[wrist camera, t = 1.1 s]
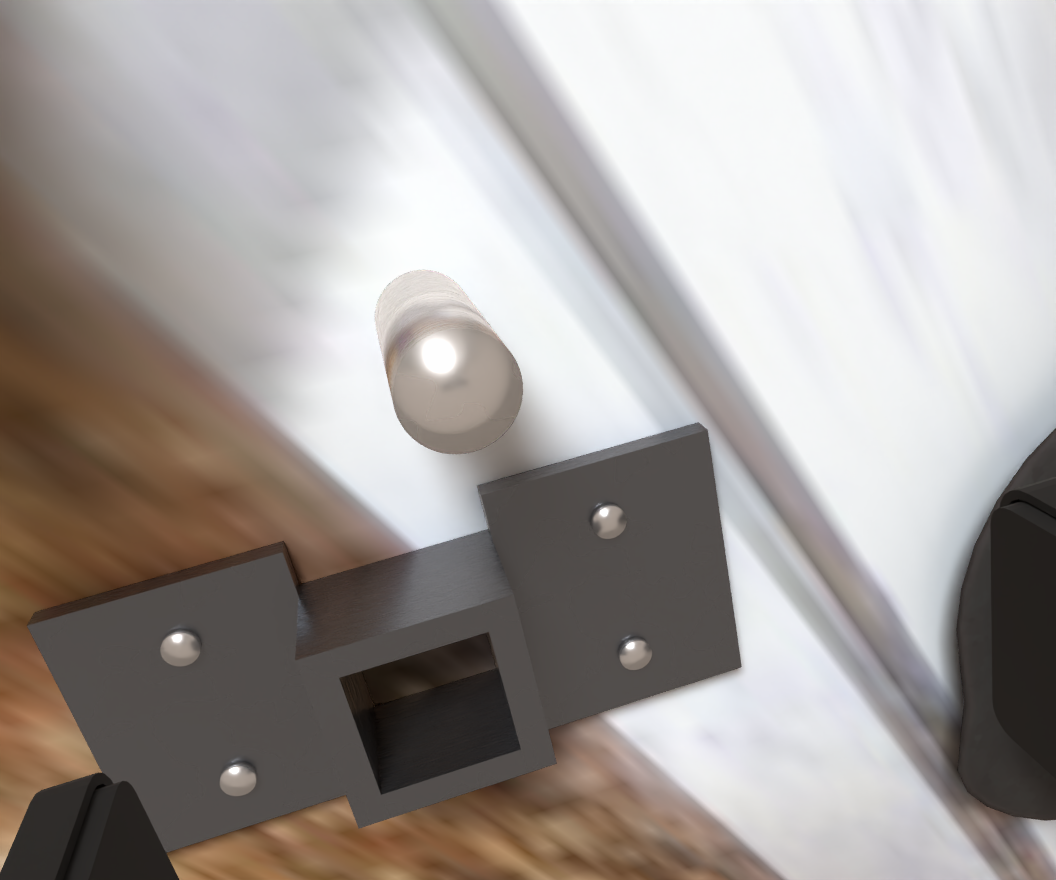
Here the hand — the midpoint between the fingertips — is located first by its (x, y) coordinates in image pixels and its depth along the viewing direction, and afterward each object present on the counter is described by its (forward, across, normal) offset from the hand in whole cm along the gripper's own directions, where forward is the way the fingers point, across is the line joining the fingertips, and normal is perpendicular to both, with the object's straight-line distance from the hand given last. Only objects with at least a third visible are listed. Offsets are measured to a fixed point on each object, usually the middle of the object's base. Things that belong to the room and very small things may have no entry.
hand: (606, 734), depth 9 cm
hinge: (+20, +3, +11) cm, 23 cm away
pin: (+20, 0, 0) cm, 20 cm away
